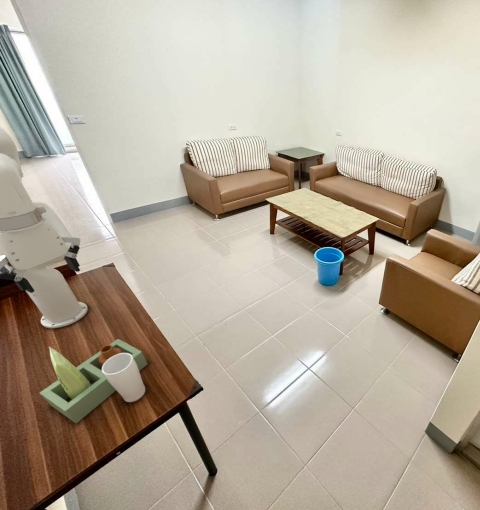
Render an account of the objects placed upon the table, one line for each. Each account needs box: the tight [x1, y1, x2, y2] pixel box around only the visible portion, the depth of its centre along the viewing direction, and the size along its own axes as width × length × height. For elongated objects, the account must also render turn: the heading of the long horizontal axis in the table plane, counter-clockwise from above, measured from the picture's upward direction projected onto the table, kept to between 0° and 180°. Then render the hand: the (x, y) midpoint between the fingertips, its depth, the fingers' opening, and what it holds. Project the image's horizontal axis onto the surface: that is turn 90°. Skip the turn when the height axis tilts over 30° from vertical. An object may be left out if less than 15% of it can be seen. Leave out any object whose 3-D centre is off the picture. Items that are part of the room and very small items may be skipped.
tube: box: [48, 346, 92, 401], centre depth 72 cm, size 6×5×20 cm
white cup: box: [102, 353, 146, 403], centre depth 75 cm, size 7×7×15 cm
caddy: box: [39, 338, 148, 424], centre depth 79 cm, size 11×20×6 cm, turn 157°
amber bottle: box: [98, 344, 122, 366], centre depth 81 cm, size 5×5×11 cm
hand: (53, 279), depth 69 cm, fingers open, 9 cm apart
